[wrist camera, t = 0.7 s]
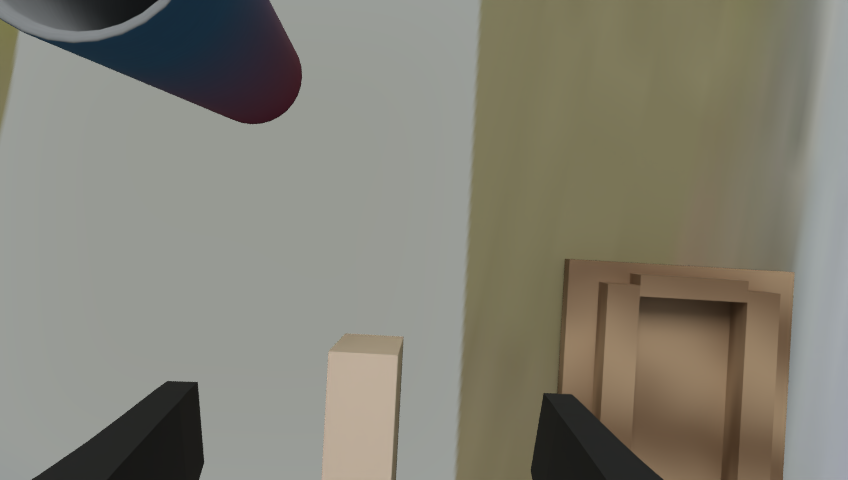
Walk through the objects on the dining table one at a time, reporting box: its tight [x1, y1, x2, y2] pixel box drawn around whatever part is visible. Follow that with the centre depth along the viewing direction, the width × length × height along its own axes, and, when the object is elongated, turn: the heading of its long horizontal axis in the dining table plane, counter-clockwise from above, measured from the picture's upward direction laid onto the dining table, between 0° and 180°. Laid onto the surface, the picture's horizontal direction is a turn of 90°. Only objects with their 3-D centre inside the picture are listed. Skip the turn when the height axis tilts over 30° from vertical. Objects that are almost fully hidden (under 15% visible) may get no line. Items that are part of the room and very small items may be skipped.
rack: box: [557, 259, 794, 480], centre depth 28 cm, size 18×11×2 cm, turn 177°
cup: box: [0, 0, 302, 124], centre depth 23 cm, size 7×7×15 cm
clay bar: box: [322, 333, 404, 480], centre depth 28 cm, size 12×3×5 cm, turn 177°
